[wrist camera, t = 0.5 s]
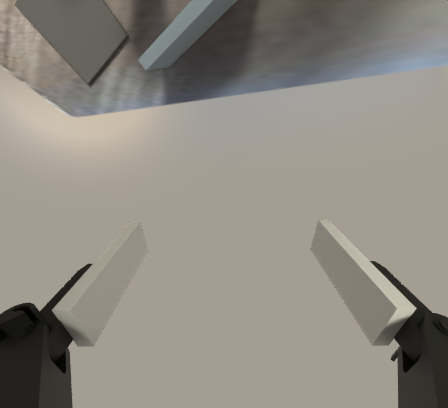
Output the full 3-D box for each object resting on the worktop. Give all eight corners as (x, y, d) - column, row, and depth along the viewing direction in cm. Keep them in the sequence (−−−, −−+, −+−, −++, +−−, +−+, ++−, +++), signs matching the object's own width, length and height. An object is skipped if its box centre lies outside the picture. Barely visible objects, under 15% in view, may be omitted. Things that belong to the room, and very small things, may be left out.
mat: (52, -72, 21) (48, -75, 20) (128, 35, 26) (126, 35, 26) (18, 5, 25) (14, 4, 25) (89, 83, 31) (87, 83, 30)
